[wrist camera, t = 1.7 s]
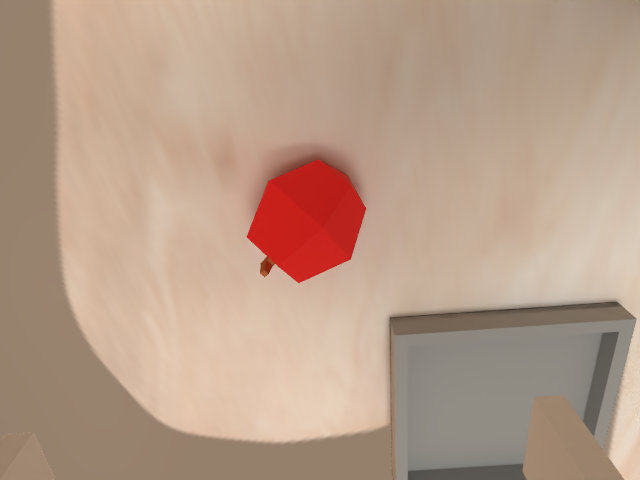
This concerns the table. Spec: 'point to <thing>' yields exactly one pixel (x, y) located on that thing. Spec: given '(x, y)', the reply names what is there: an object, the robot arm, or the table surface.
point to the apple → (307, 221)
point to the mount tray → (497, 384)
